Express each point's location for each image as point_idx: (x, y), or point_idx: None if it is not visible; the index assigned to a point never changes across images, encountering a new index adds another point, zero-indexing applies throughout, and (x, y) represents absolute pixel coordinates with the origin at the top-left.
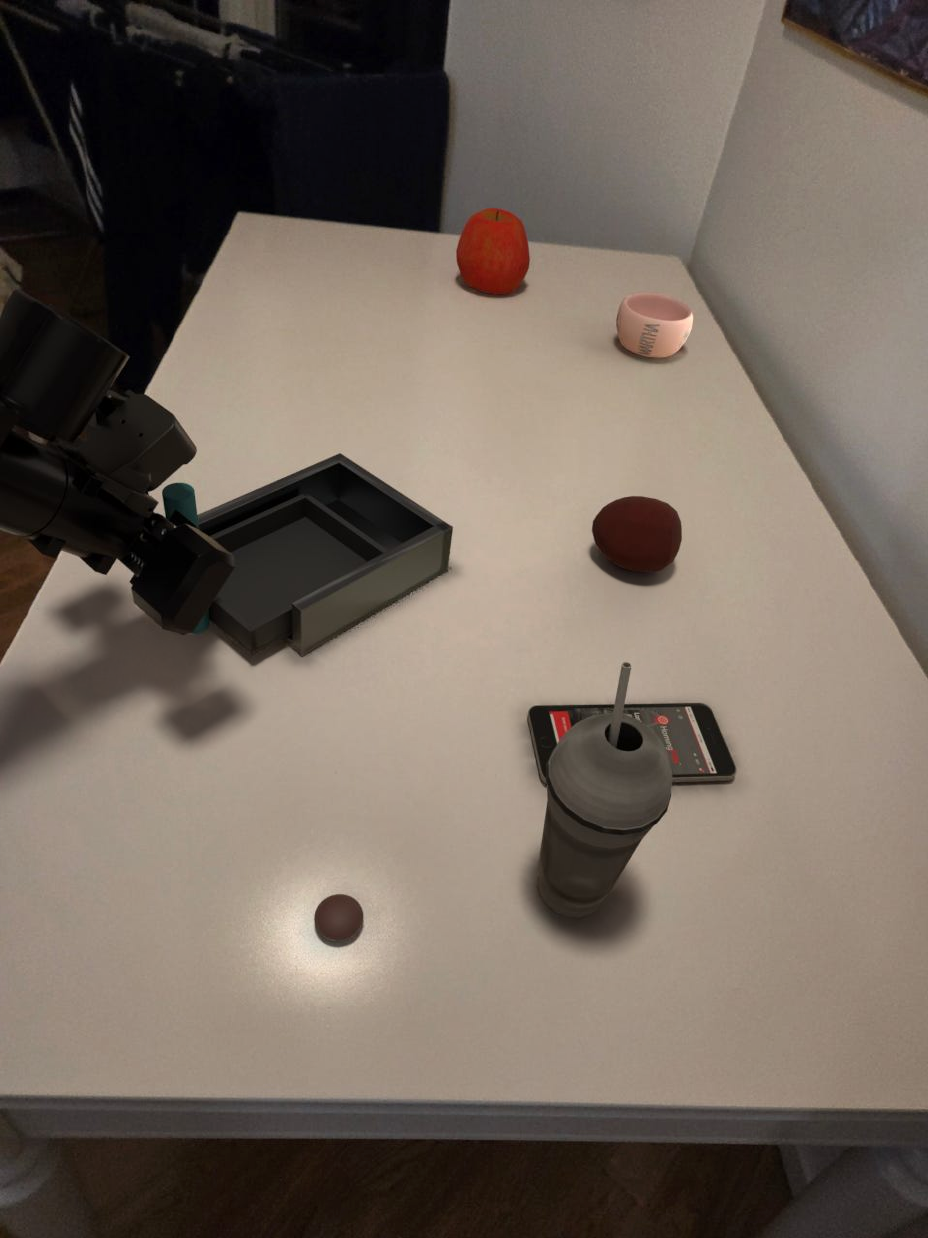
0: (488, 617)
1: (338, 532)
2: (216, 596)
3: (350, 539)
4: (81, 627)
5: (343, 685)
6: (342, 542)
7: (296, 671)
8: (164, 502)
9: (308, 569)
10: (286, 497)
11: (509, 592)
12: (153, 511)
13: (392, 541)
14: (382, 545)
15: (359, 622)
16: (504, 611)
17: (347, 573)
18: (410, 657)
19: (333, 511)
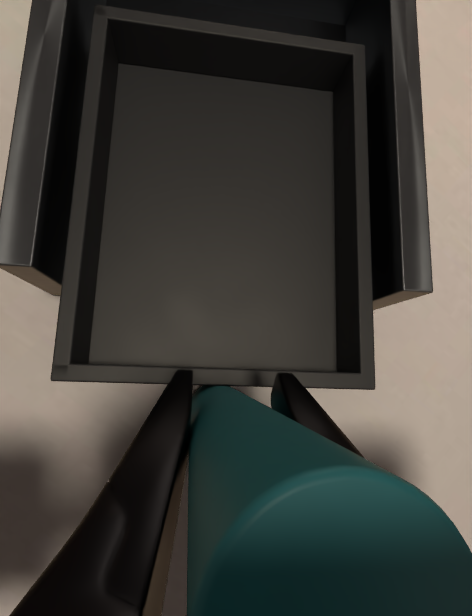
0: (464, 67)
1: (218, 60)
2: (247, 372)
3: (255, 61)
4: (46, 564)
5: (447, 308)
6: (229, 76)
7: (384, 339)
8: None
9: (244, 168)
10: (76, 42)
11: (445, 8)
12: (71, 543)
13: (265, 21)
14: None
15: None
16: (468, 44)
17: (397, 147)
18: (460, 200)
19: None
